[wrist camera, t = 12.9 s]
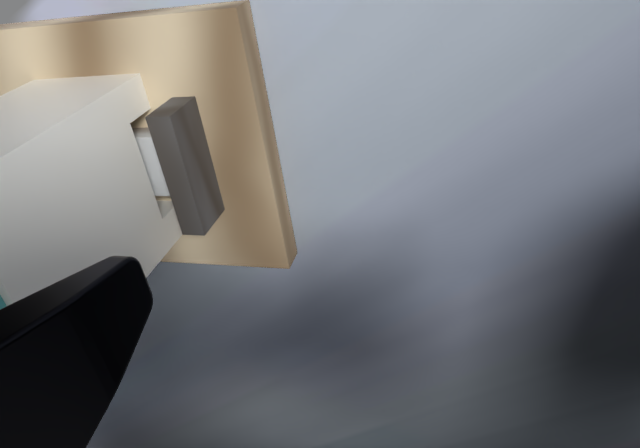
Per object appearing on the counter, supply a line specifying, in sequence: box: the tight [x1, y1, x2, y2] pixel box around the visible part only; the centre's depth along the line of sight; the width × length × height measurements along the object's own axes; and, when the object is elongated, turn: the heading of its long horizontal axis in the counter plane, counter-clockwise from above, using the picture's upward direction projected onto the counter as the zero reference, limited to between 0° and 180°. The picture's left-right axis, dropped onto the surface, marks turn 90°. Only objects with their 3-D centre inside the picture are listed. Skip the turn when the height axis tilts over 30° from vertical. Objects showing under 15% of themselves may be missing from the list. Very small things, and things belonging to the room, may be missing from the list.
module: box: [0, 73, 182, 309], centre depth 20 cm, size 5×7×9 cm
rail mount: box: [0, 0, 297, 269], centre depth 23 cm, size 14×11×3 cm
